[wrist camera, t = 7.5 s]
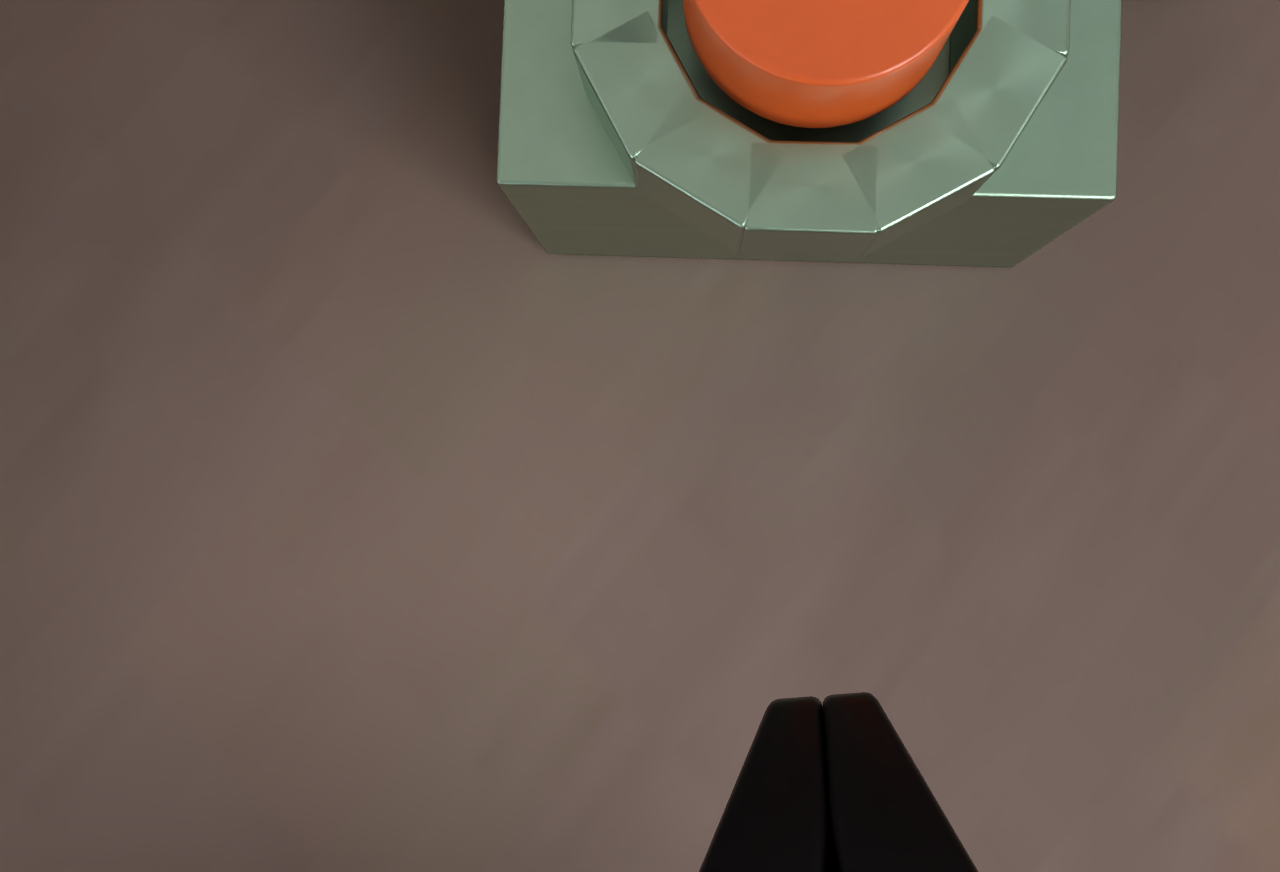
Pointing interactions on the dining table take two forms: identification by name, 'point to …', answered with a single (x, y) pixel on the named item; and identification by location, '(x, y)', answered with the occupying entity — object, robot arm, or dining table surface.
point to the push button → (818, 53)
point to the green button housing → (807, 142)
